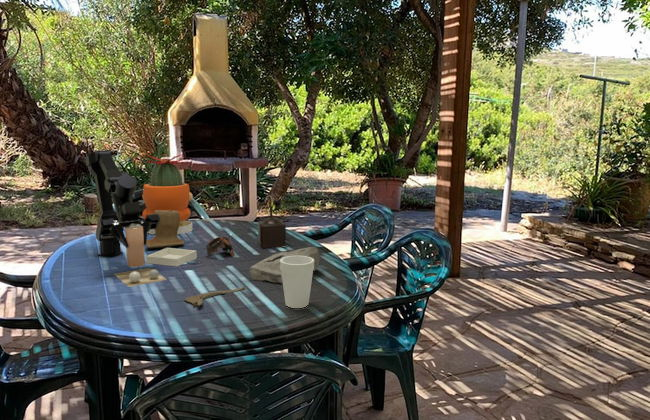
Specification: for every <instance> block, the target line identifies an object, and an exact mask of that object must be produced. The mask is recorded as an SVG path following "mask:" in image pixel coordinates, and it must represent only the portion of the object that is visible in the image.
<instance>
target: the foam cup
mask: <svg viewBox="0 0 650 420" xmlns="http://www.w3.org/2000/svg"><path fill="white" fill-rule="evenodd" d="M280 270H281V274H282V281H283V283H282V288H283V294H284V301H285V302H284V303H285V307H286V306H288V307H291V308H303V307H306V306H307V305H308V306H309V303H310V296H311V287H312V282H313V275H314V274H313V273H314V272H313V270H314V259H313V258H311V257H307V256H287V257H283V258H282V259H280ZM308 306H307V307H308ZM288 307H287V308H288ZM307 307H306V308H307ZM303 309H304V308H303Z"/></svg>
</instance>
